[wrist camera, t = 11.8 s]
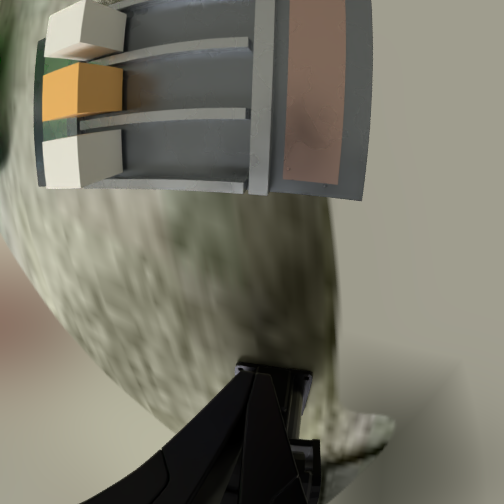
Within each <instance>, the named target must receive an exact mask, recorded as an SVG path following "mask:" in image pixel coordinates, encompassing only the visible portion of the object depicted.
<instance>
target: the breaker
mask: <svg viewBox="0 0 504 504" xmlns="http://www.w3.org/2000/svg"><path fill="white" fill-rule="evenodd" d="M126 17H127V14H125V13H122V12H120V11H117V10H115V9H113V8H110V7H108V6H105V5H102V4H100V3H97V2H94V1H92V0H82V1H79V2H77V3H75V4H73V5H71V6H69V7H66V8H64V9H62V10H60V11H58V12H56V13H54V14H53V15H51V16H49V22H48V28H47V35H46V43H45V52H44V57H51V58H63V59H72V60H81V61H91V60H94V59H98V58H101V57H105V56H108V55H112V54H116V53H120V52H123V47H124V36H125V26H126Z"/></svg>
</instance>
